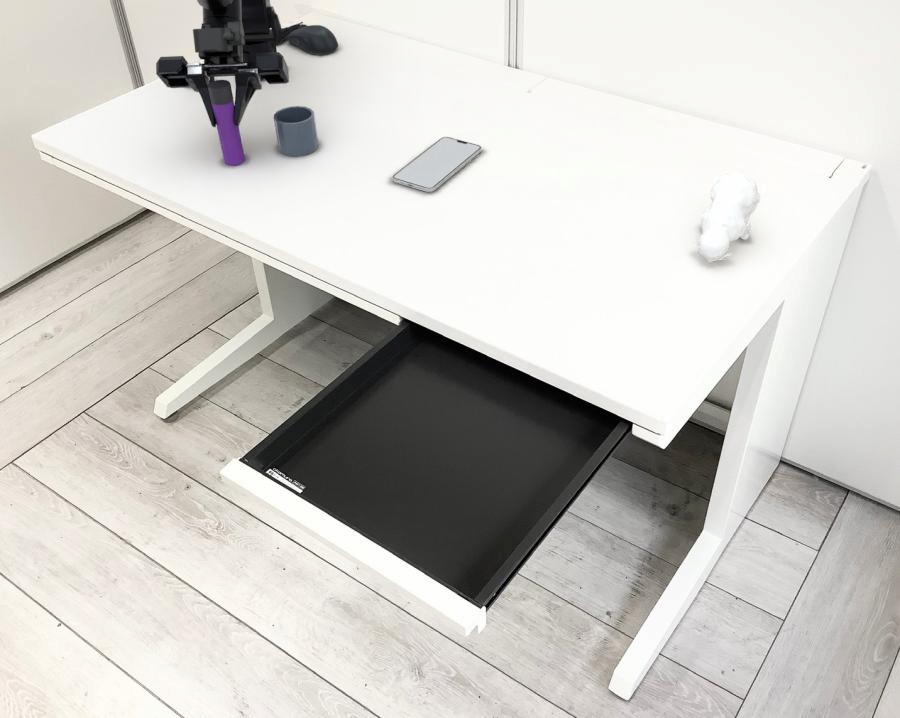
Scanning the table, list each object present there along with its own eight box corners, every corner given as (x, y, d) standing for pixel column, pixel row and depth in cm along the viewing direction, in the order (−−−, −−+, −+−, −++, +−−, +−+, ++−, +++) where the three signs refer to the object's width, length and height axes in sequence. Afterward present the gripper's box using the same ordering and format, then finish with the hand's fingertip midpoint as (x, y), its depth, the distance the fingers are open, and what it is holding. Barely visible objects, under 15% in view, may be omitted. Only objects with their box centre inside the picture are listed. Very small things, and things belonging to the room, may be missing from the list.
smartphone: (389, 177, 132) (443, 135, 141) (389, 181, 132) (443, 139, 142) (431, 190, 129) (483, 146, 138) (431, 194, 129) (484, 150, 139)
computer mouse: (314, 62, 167) (311, 41, 164) (263, 44, 174) (259, 24, 172) (352, 45, 173) (350, 25, 170) (301, 28, 180) (298, 9, 177)
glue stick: (235, 153, 140) (220, 77, 132) (249, 159, 139) (234, 82, 130) (219, 162, 138) (202, 85, 130) (233, 168, 137) (217, 90, 129)
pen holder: (298, 134, 145) (294, 102, 141) (326, 144, 142) (322, 112, 138) (270, 149, 141) (265, 117, 137) (298, 160, 138) (293, 127, 134)
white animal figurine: (767, 172, 114) (741, 225, 107) (756, 225, 120) (730, 279, 113) (718, 161, 116) (689, 212, 109) (709, 214, 122) (681, 266, 115)
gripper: (142, 2, 126) (144, 109, 125) (274, -3, 126) (277, 104, 125) (167, 36, 137) (169, 135, 136) (288, 31, 137) (291, 130, 136)
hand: (225, 125), depth 133 cm, fingers closed on glue stick, 3 cm apart
